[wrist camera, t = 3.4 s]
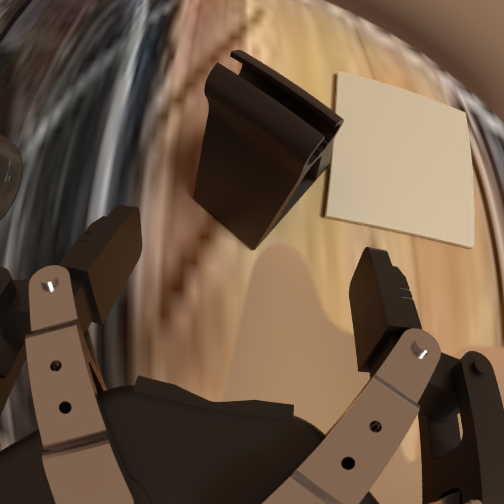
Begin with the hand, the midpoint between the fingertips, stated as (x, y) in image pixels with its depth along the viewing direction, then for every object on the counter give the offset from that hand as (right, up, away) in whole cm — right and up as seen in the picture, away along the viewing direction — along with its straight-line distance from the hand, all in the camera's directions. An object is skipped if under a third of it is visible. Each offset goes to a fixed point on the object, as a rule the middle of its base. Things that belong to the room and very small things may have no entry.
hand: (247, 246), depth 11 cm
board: (+14, +8, +14) cm, 21 cm away
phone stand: (+1, +5, +13) cm, 14 cm away
